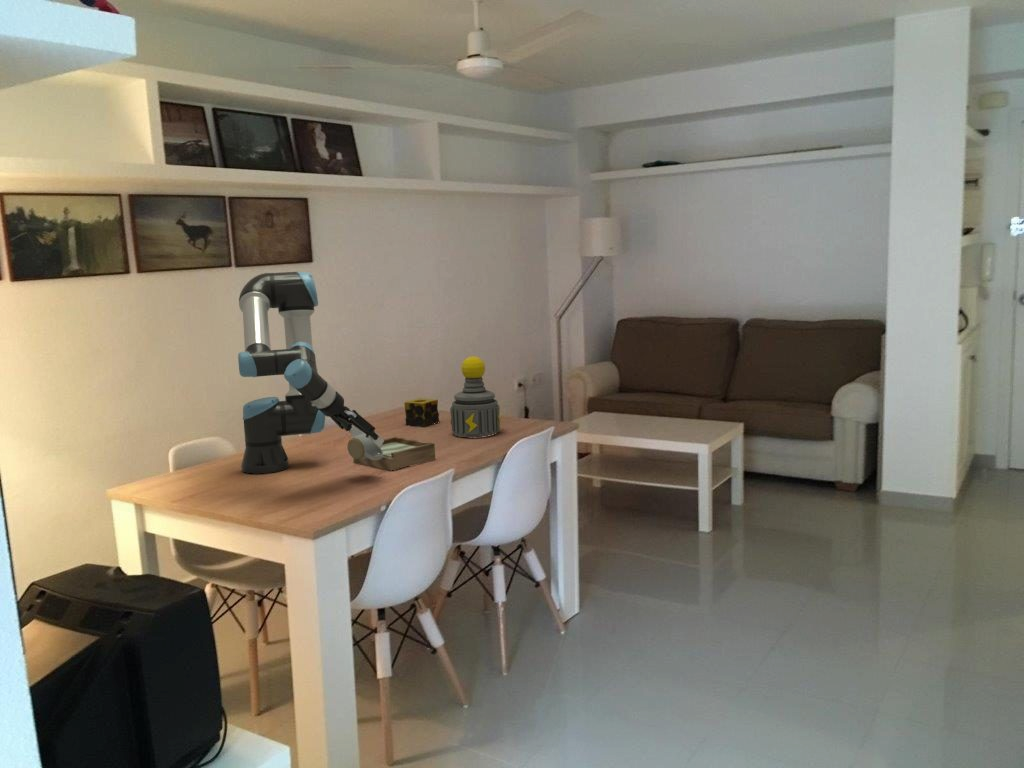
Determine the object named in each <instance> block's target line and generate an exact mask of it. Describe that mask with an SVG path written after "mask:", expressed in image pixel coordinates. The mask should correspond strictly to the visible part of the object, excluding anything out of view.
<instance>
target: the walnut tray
mask: <svg viewBox="0 0 1024 768" xmlns="http://www.w3.org/2000/svg"><path fill="white" fill-rule="evenodd" d="M382 439H383V438H382ZM383 440H384V442H383V443H382V445H381V450H382V451H383V457H382V459H380V460H370V459H368V458H364V459H354V458H353V457H352V458H353V463H354V462H355V464H358V463H359V465H362V464H363V466H368V467H371V466H372V467H373V468H375V467H377V468H376V469H380V468H381V469H380V470H384V469H386V470H385V471H389V470H390V472H393V471H392V470H394V471H397V470H396V469H398V470H400V469H399V468H402V469H404V468H403V467H405V468H407V467H406V466H409V467H411V466H410V465H413V466H415V465H414V464H417V465H419V464H418V463H420V464H423V463H422V462H424V463H428V462H431V461H435V460H436V446H435V443H433V442H428V441H424V440H417V439H411V438H408V437H407V438H406V437H402V436H401V437H400V436H393V437H389V438H384V439H383ZM380 455H381V454H380V453H378V454H376V455H373V456H380ZM427 461H428V462H427Z"/></svg>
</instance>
